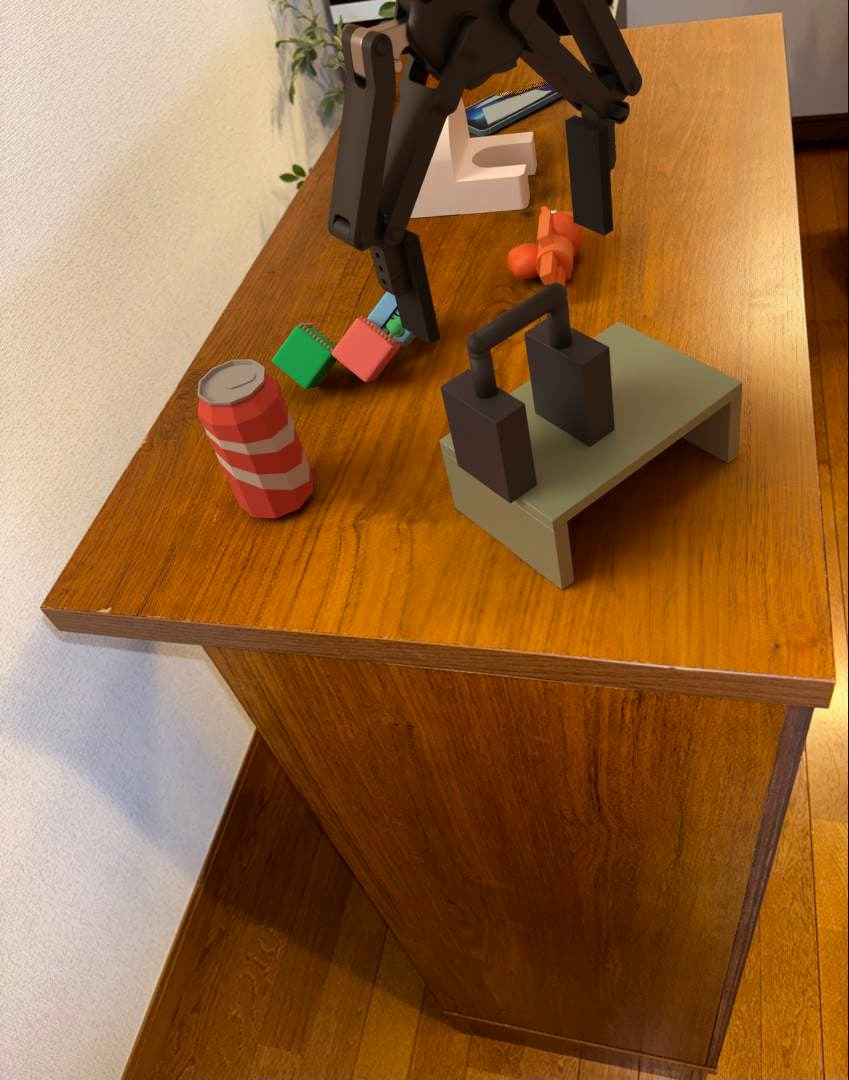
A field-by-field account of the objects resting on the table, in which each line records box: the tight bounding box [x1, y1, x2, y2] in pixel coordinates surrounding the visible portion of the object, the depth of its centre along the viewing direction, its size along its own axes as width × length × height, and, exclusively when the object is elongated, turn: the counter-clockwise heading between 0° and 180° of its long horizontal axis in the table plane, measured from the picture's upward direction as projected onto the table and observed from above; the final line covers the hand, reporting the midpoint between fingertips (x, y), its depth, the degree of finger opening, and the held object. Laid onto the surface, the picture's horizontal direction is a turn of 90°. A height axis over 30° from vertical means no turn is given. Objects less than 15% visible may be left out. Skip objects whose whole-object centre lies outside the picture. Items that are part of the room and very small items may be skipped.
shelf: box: [439, 320, 743, 591], centre depth 72 cm, size 12×18×7 cm, turn 128°
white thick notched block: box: [410, 97, 538, 219], centre depth 105 cm, size 18×10×11 cm, turn 80°
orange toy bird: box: [506, 205, 584, 287], centre depth 93 cm, size 5×8×12 cm
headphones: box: [439, 283, 615, 504], centre depth 64 cm, size 6×10×11 cm, turn 128°
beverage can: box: [197, 358, 314, 519], centre depth 76 cm, size 6×6×12 cm
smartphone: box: [465, 81, 562, 137], centre depth 121 cm, size 7×1×15 cm
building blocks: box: [271, 291, 436, 390], centre depth 88 cm, size 8×8×12 cm
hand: (510, 278), depth 58 cm, fingers open, 13 cm apart
